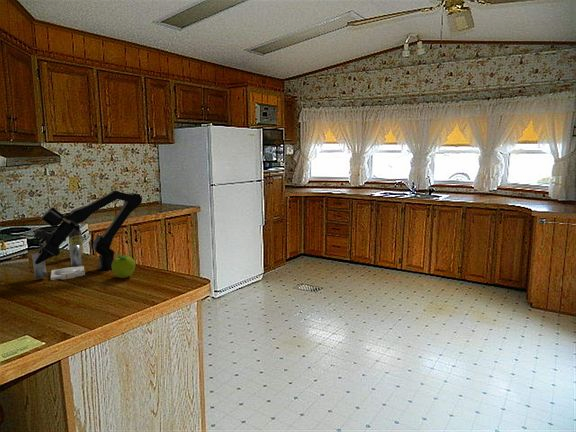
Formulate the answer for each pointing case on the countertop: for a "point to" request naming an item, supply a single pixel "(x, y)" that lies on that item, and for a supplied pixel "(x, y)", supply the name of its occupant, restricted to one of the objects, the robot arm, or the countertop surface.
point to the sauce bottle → (76, 239)
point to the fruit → (123, 266)
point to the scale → (67, 273)
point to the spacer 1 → (39, 267)
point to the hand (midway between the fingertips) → (35, 262)
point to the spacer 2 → (75, 255)
